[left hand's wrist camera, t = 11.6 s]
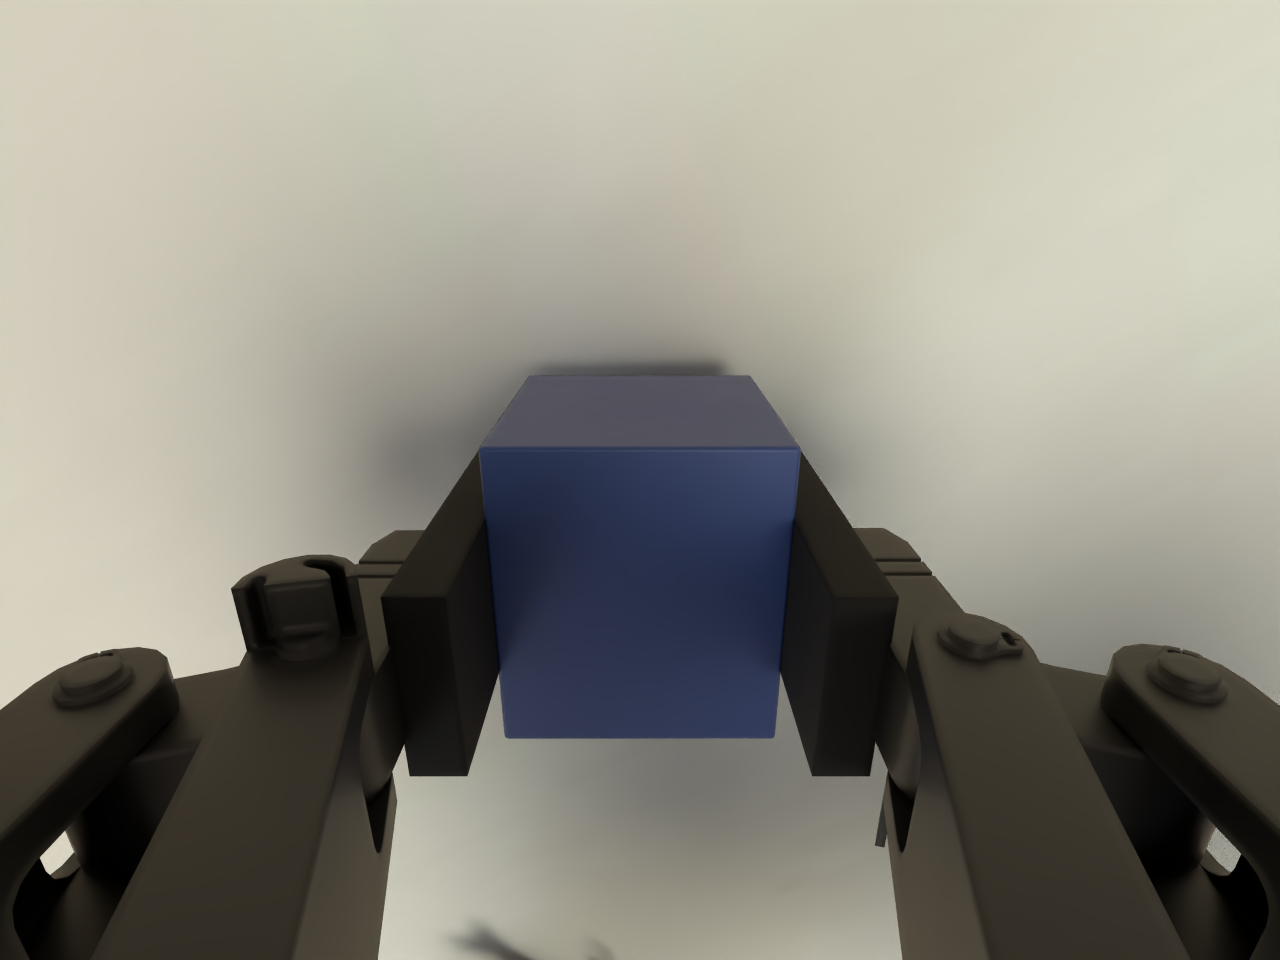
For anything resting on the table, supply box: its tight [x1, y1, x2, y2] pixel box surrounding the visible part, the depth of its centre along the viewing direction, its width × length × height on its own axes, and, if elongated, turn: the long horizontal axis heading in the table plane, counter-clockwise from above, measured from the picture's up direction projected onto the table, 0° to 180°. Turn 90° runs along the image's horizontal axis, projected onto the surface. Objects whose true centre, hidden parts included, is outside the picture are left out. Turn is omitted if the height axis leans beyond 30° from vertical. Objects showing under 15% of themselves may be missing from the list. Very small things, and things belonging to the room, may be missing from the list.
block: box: [479, 376, 801, 738], centre depth 12 cm, size 5×4×5 cm
